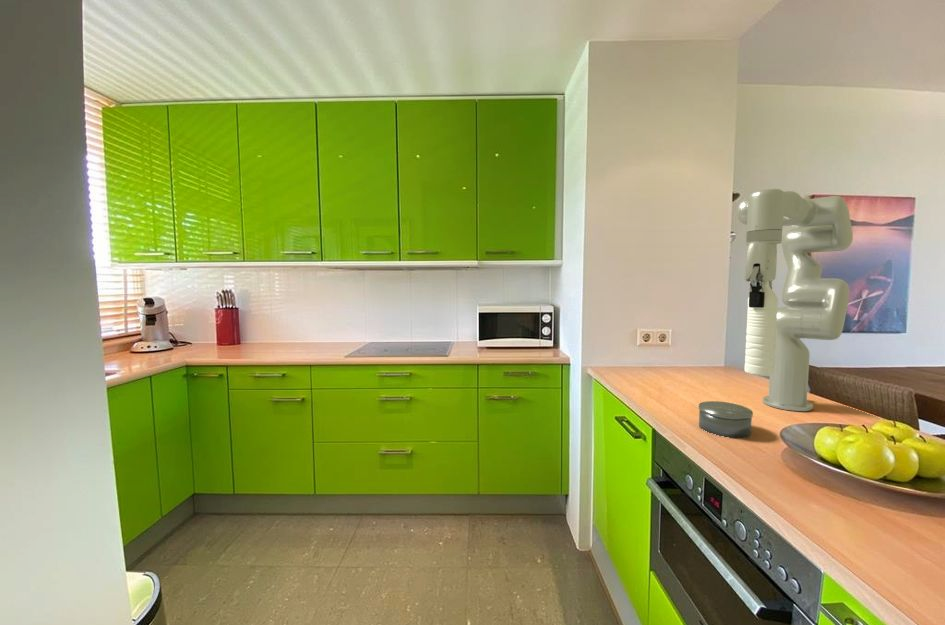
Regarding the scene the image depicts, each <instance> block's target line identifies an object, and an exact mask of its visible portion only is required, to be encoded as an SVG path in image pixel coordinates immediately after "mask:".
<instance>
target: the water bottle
mask: <svg viewBox="0 0 945 625" xmlns="http://www.w3.org/2000/svg"><path fill="white" fill-rule="evenodd" d="M760 285H761V283H760ZM763 292H765V298H764V307H763V308H757V307H749V297H748V298H747V314H746V315H747V317H746V329H745V331H746V336H745V353H744V354H745V356H744V367H743V368H744V372H745V373H747V374H750V375H753V376H759V377H760V376H761V377H765V376H767V377H770V376H771V375H774V368H775V366H774V364H775V358H774V357H775V348H776V345H775V343H776V326H777V324H776V323H777V321H776V320H777V310H778V309H777V308H779V298H778V295H777V294H776V293H775V291H774V290H773V288H772V289H771V288H770V286H769V281H765V284H764V290H763Z"/></svg>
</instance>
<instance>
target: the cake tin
mask: <svg viewBox="0 0 945 625" xmlns="http://www.w3.org/2000/svg"><path fill="white" fill-rule="evenodd" d="M698 410H699V413H698V427H699V428H700V430H702V429H703V430H702V431H704V430H705V431H707V432H706V433H708V432H709V433H708V434H710V433H713V434H716V435H715V436H717V435H719V436H718V437H721V436H724V437H723V438H726V437H729V438H728V439H746V438H747V439H748V437H750V436H751V435H752V423H753V422H752V419H753V416H754V412H753V410H752V409H750V408H748V407H746V406H743V405H741V404H737V403H736V404H735V403H733V402H726V401H717V400H714V401H713V400H711V401H709V400H707V401H702V402H700V403H699V404H698ZM705 431H704V432H705ZM713 434H712V435H713Z"/></svg>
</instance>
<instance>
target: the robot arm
mask: <svg viewBox="0 0 945 625" xmlns="http://www.w3.org/2000/svg"><path fill="white" fill-rule="evenodd" d="M736 216H737V218H738V221H739V222H741V224H743V225H745V226H746V235H745V236H746V238H745V245H746V246H747V252H746V258H745V267H744V276H743V278H744V281H746V282H750V283H749V293H748V294H749V295H748V298H749V307H757V308H763V307H764V298H765V292H763V290H764V284H765V281H769V286H770V288H771V289H772V290H773V281H774V280H776V278H777V277H776V276H777V266H778V265H777V260H778V255H777V254H778V247H777V246H778V245H779V244H781V246H782V247H781V248H782V251H783V256H784V260H785V262H786V264H787V273H786V276H785V280H784V284H783V289H782V292H781V301H782V303H783V304H784V305H785V306H780V307H778V308H777V309H778V310H777V320H776V321H777V323H776V324H777V326H776V343H775V345H776V348H775V357H774V358H775V364H774V366H775V368H774V375H771V376H769V382H768V383H769V385H768V395H765V396H763V397H762V402H763V404H765V405H766V406H769V407H772V408H775V409H778V410H779V409H780V410H785V411H793V412H809V411H811V410H814V404H813V403H811V402H809V401H808V391H809V390H808V388H809V386H808V385H809V370H810V350H809V348H808V346H807V345H806V344H805V343H804V342H803V341H802V340H801V339H809V340H821V341H834V340H837V339H838V338H840V337H841V335H842V333H843V330H844V327H845V321H846V316H847V312H848V305H849V300H850V286H849V284H848V283H847V282H846V281H845V280H843V279H841V278H836V277H835V278H833V277H831V278H829V277H828V278H825V277H824V278H823V277H821V276H822V272H823V267H822V266H821V264H820V263H818V261H817V260H816V259H814V258H813V257H812V256H810V255H808V254H807V253H809V254H810V253H829V252H830V253H831V252H842V251H845V250H847V249H848V248H849V247H850V246H851V245H852V243H853V237H854V236H853V228H852V222H851V215H850V210H849V208H848V204H847V203H846V200H845V199H844V198H843V197H842V196H839V195H830V196H823V197H817V198H805V197H804V198H803V197H802V196H801V195H800V194H799V193H798V192H796V191H793V190H792V191H790V190H788V191H787V190H786V191H785V190H784V191H783V190H782V189H780V188H765V189H759V190H756V191H753V192H751V193H750V194H749V196H748V197H745V198H743V199H742V200H741V201H740V202H739V204H738V206H737V209H736ZM784 227H791V228H792V229H789V230H787V231H785V232H784V233H783V228H784ZM760 283H761V285H760Z"/></svg>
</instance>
